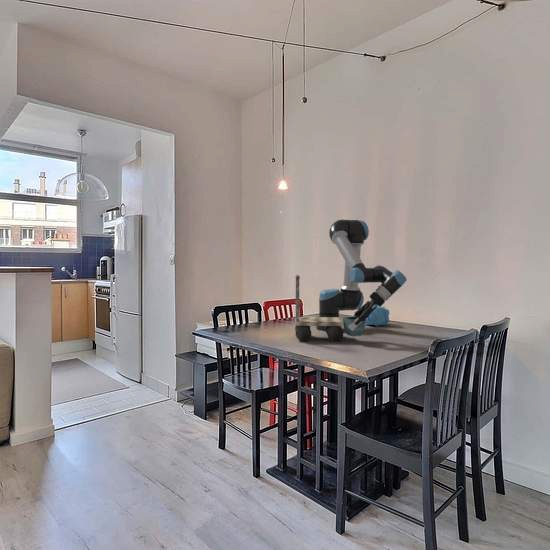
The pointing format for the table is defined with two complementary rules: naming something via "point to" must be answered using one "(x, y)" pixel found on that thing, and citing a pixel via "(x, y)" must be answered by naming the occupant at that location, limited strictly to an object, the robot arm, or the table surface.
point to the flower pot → (357, 330)
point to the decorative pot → (378, 317)
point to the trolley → (316, 323)
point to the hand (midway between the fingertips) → (348, 327)
